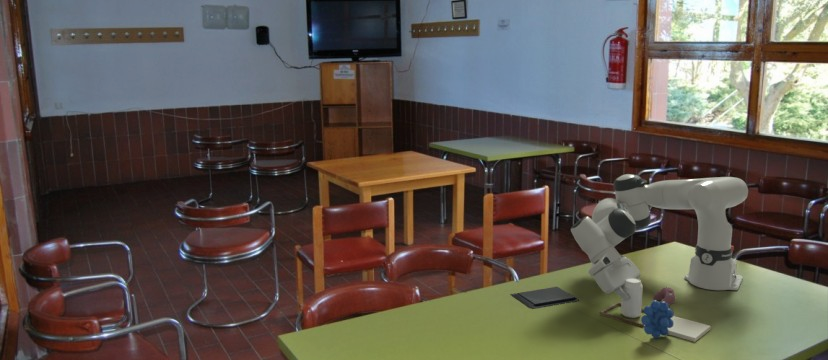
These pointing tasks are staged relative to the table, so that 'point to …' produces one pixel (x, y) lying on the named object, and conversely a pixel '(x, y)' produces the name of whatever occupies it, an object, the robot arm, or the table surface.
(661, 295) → the video game controller
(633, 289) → the beverage can
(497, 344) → the table surface
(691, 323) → the brown bars cream slab
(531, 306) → the dark grey flat block
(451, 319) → the table surface
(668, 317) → the grapes
